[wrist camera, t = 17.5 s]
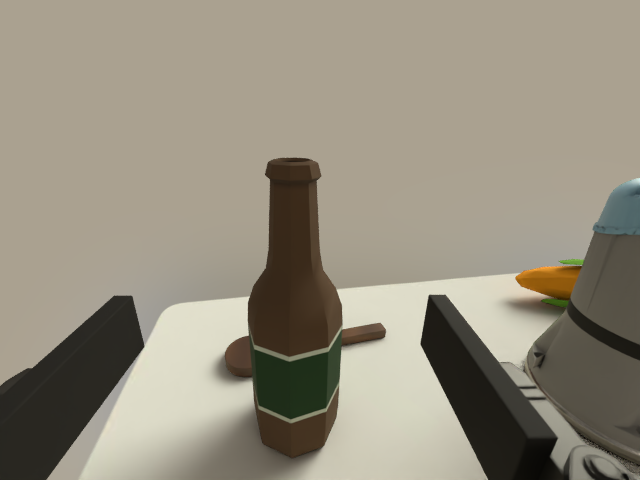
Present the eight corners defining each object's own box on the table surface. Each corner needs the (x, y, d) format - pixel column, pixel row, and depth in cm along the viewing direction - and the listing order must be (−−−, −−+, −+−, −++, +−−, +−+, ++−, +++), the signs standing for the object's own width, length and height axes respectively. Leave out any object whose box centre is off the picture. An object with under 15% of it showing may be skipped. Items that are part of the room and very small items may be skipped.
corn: (693, 276, 41) (535, 264, 44) (672, 325, 43) (523, 311, 46) (645, 258, 48) (511, 248, 51) (629, 300, 50) (502, 289, 53)
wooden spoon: (373, 321, 43) (373, 314, 43) (392, 347, 38) (393, 339, 38) (225, 347, 38) (224, 339, 37) (226, 382, 33) (225, 373, 32)
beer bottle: (336, 387, 32) (347, 155, 24) (338, 463, 25) (356, 169, 16) (263, 384, 32) (249, 153, 24) (245, 459, 25) (214, 165, 16)
